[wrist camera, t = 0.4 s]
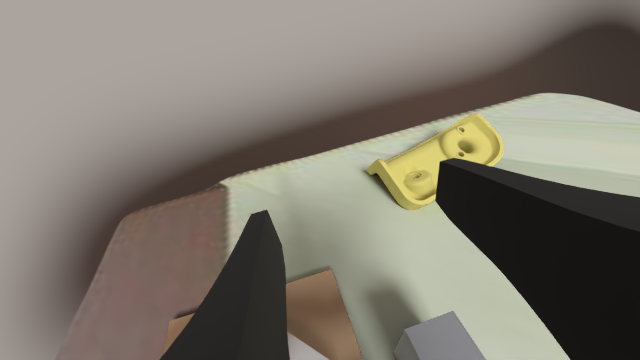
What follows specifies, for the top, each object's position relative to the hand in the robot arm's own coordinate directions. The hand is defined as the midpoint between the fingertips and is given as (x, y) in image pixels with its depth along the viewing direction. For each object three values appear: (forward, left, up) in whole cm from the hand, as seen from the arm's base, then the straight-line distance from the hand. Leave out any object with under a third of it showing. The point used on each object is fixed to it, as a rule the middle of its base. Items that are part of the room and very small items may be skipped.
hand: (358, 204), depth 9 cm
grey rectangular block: (-4, -5, -19) cm, 21 cm away
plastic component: (+18, -21, -20) cm, 34 cm away
